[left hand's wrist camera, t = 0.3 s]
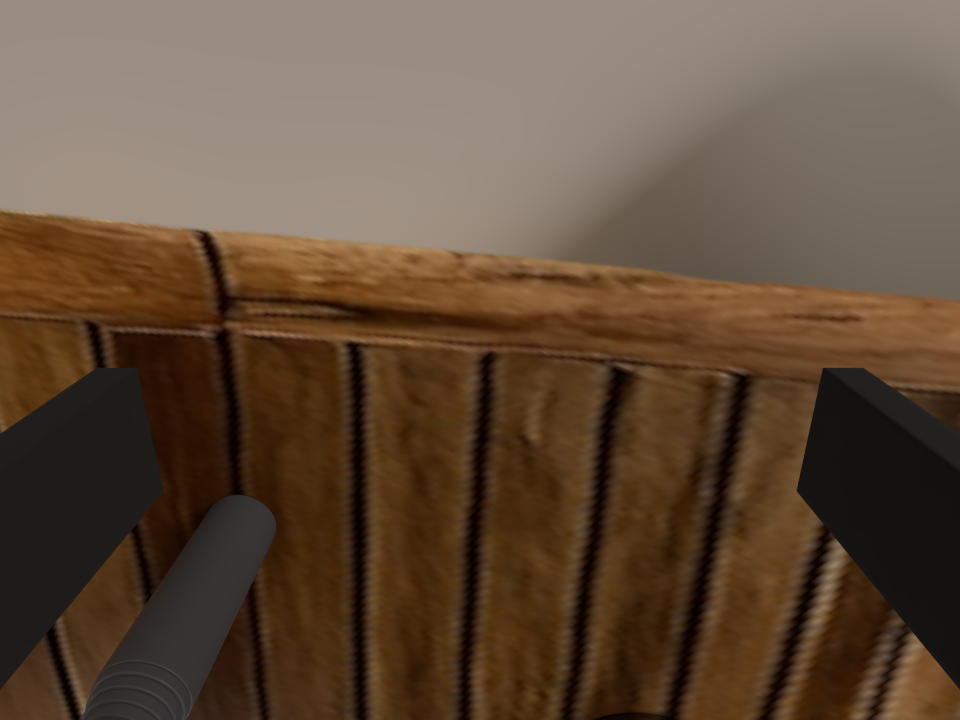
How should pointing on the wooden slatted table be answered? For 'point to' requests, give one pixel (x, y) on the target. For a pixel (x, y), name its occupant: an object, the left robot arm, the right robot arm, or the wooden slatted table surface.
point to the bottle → (185, 618)
